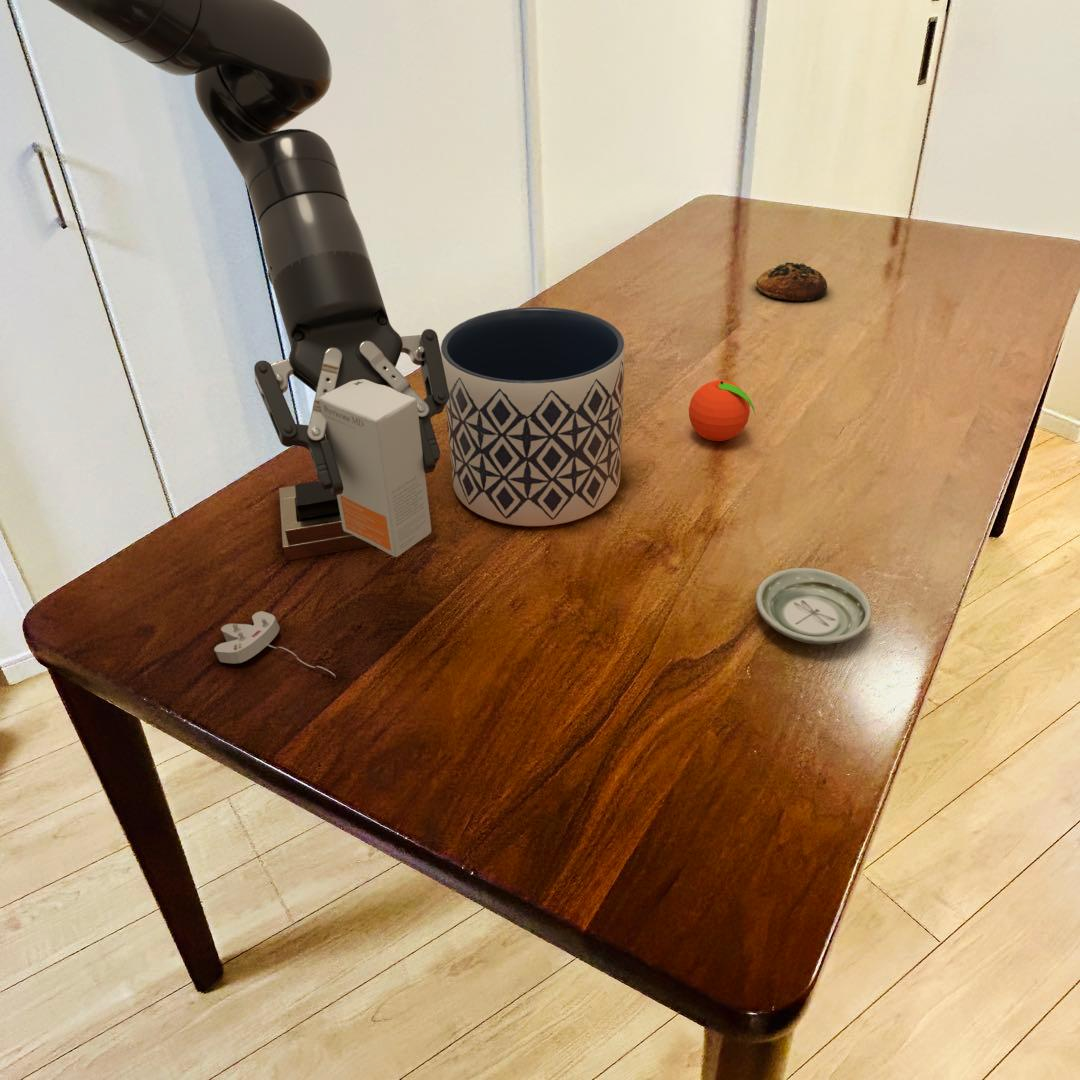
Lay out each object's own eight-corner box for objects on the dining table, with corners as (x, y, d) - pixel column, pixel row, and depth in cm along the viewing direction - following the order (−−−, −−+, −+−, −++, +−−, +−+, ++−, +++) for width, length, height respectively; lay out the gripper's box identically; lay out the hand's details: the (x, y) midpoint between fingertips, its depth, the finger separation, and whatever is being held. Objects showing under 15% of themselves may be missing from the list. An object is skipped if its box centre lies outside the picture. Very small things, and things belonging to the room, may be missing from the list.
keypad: (286, 561, 88) (279, 531, 86) (282, 501, 96) (275, 473, 94) (428, 536, 91) (424, 507, 89) (412, 480, 99) (408, 453, 97)
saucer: (731, 627, 79) (734, 606, 77) (786, 574, 84) (789, 553, 83) (835, 677, 73) (840, 656, 72) (885, 617, 79) (891, 596, 78)
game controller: (235, 621, 81) (229, 598, 79) (358, 634, 79) (354, 612, 78) (206, 665, 76) (198, 642, 75) (335, 680, 75) (331, 657, 73)
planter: (503, 551, 88) (495, 400, 79) (425, 469, 101) (409, 331, 91) (653, 496, 96) (662, 352, 86) (563, 426, 108) (562, 294, 99)
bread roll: (815, 306, 136) (816, 273, 133) (745, 303, 142) (744, 271, 139) (837, 286, 144) (838, 254, 141) (769, 284, 149) (769, 253, 147)
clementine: (765, 437, 105) (773, 381, 101) (735, 461, 101) (742, 404, 97) (705, 417, 109) (711, 363, 105) (674, 440, 105) (679, 384, 101)
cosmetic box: (341, 533, 71) (315, 396, 64) (380, 508, 74) (359, 374, 67) (396, 560, 68) (375, 420, 61) (434, 533, 71) (419, 396, 64)
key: (300, 523, 88) (296, 505, 86) (298, 501, 91) (294, 484, 90) (341, 516, 88) (338, 498, 87) (338, 494, 92) (335, 477, 90)
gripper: (220, 264, 62) (287, 493, 60) (420, 233, 67) (487, 445, 65) (227, 311, 69) (286, 517, 67) (406, 280, 74) (466, 472, 72)
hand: (384, 480), depth 66 cm, fingers closed on cosmetic box, 6 cm apart
